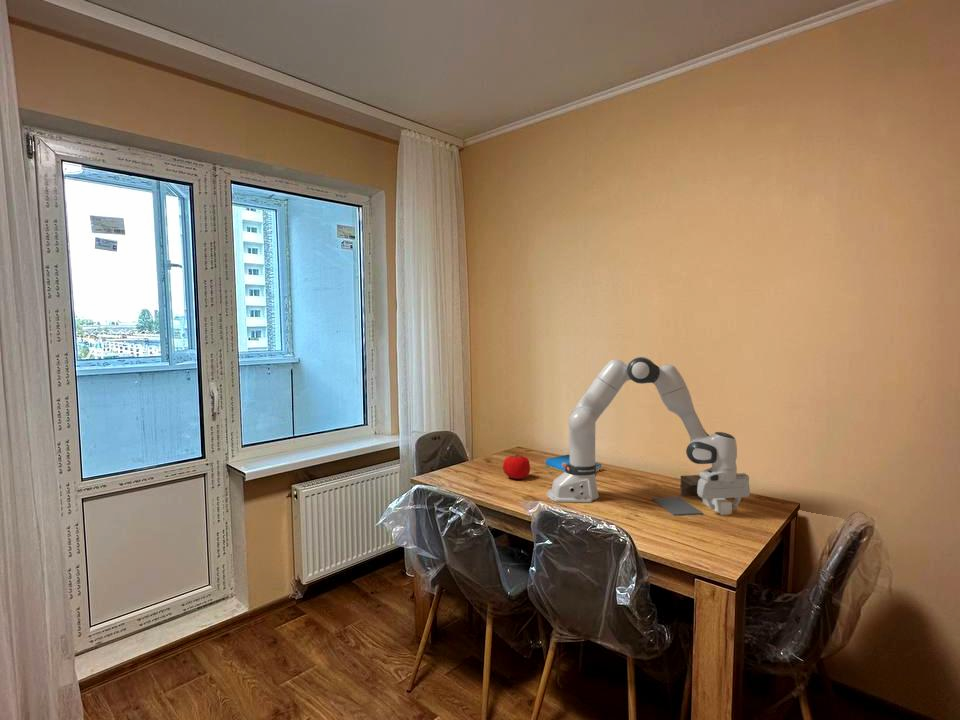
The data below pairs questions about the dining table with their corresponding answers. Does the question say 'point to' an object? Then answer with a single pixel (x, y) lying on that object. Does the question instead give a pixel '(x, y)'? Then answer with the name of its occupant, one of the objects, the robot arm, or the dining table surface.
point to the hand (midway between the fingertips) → (723, 508)
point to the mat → (677, 506)
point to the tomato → (516, 466)
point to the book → (560, 460)
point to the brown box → (689, 484)
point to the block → (721, 505)
